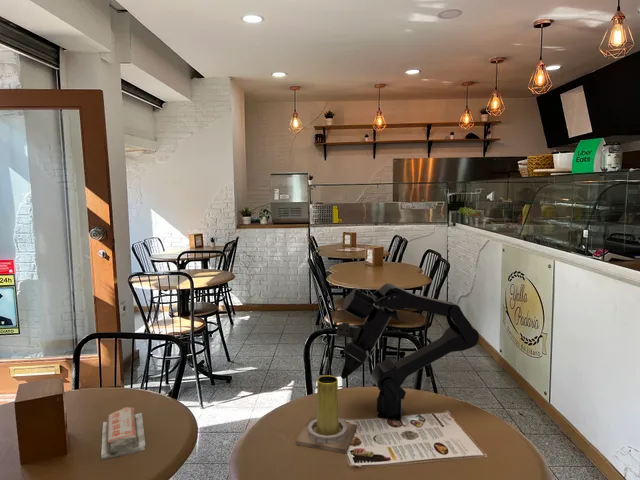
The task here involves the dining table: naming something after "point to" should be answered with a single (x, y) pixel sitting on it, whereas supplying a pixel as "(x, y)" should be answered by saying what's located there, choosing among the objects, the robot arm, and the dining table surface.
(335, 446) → the socket board
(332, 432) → the vase
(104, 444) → the packaged product
